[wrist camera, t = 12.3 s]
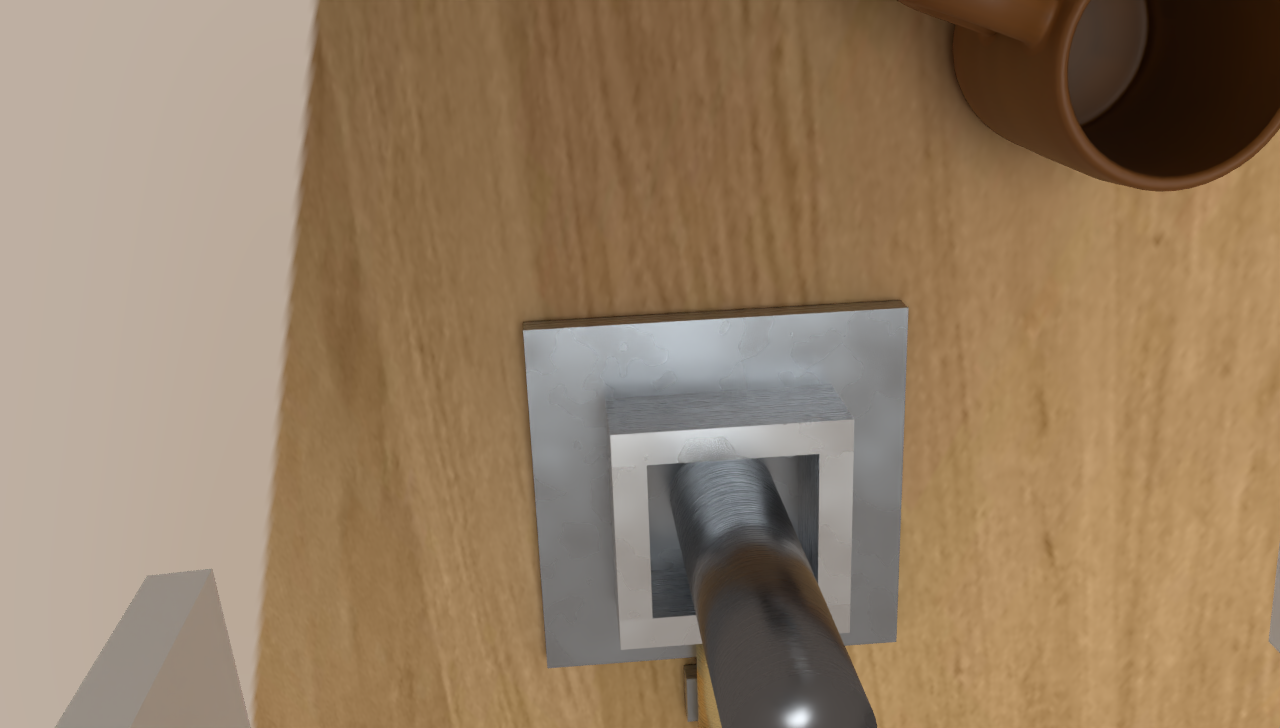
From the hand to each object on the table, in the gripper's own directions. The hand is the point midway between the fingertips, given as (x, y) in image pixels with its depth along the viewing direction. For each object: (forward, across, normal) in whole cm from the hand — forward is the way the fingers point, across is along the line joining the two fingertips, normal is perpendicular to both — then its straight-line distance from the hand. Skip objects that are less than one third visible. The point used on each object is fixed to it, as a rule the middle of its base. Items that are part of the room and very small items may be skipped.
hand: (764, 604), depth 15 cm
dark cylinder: (+28, +2, -13) cm, 31 cm away
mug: (+30, +13, +3) cm, 33 cm away
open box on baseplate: (+29, +2, -15) cm, 33 cm away
